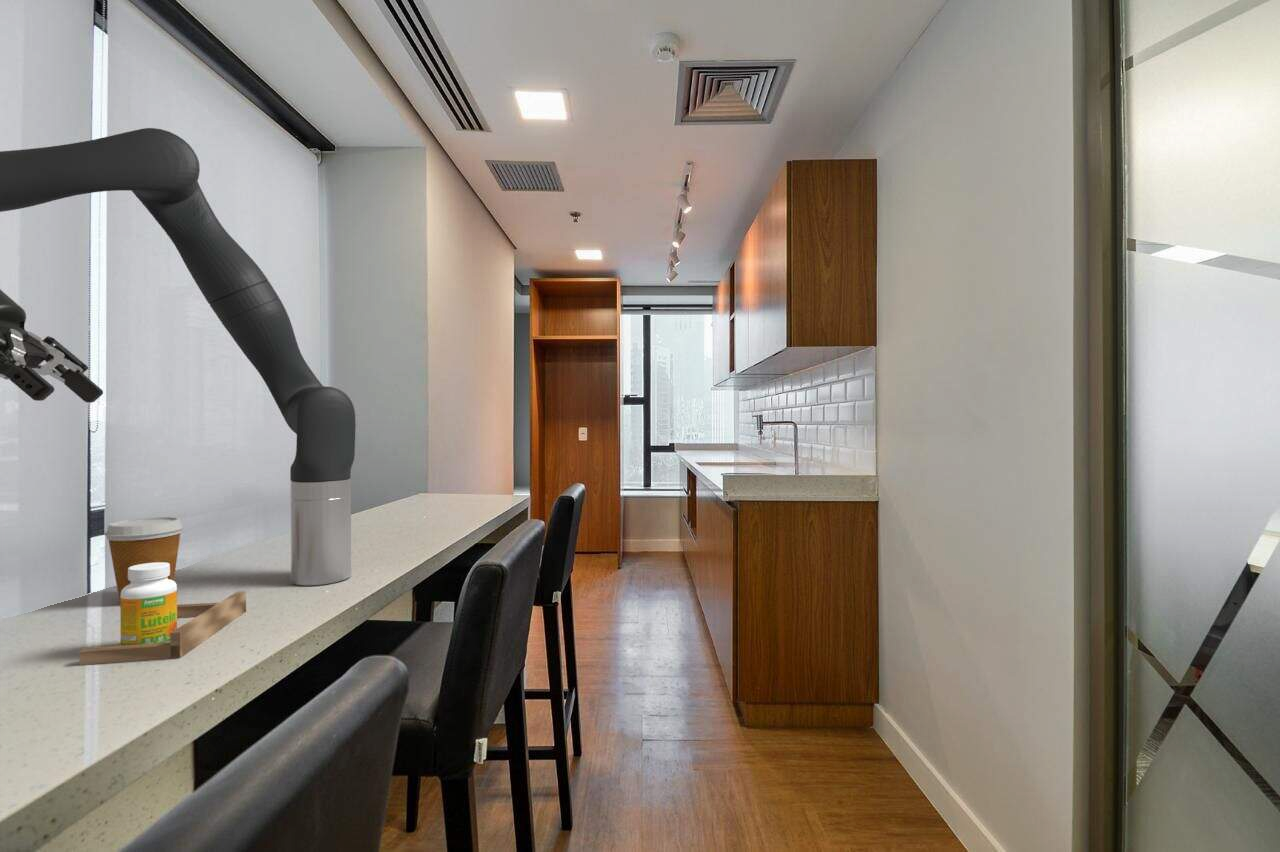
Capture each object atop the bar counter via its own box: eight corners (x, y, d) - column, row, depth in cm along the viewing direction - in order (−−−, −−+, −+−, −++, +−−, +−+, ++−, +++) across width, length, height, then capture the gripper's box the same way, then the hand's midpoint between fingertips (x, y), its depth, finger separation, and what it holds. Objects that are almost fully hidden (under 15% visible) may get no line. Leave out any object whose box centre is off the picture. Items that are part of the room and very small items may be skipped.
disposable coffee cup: (140, 610, 88) (139, 528, 88) (88, 606, 90) (87, 525, 90) (200, 592, 98) (199, 517, 98) (151, 588, 100) (150, 515, 99)
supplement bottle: (139, 656, 71) (139, 572, 71) (109, 650, 73) (109, 568, 72) (187, 640, 76) (187, 562, 76) (158, 635, 78) (158, 559, 78)
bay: (166, 615, 86) (166, 594, 86) (246, 611, 88) (245, 590, 88) (79, 664, 69) (79, 638, 69) (180, 657, 71) (179, 632, 71)
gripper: (-70, 265, 66) (54, 371, 69) (32, 291, 80) (132, 379, 83) (-129, 312, 65) (0, 418, 68) (-15, 331, 79) (88, 418, 82)
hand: (72, 397), depth 75 cm, fingers open, 8 cm apart
